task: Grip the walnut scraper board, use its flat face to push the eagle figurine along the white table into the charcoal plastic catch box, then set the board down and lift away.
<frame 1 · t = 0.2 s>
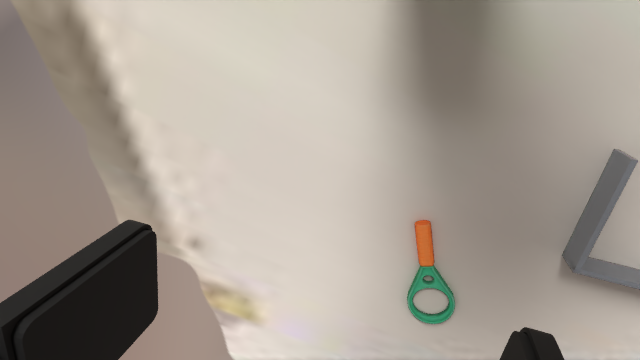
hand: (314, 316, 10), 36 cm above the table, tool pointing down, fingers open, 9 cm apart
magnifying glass: (427, 270, 50), on the table
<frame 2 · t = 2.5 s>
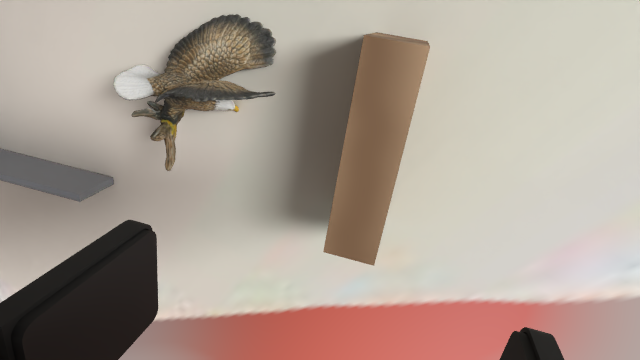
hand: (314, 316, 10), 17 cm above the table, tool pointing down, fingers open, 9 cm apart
scraper board: (380, 133, 25), on the table
catch box: (30, 60, 29), on the table
eagle figurine: (224, 80, 26), on the table
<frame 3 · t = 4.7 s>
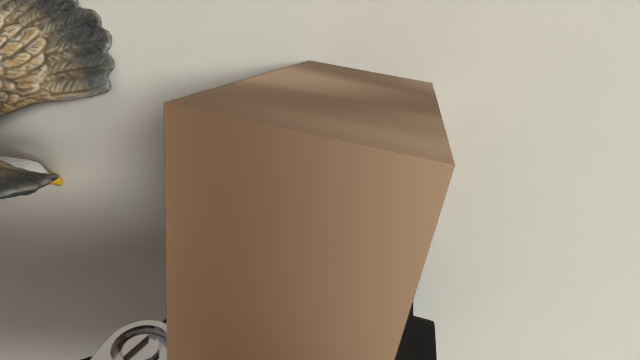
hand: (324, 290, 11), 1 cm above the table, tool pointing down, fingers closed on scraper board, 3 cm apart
scraper board: (329, 274, 12), on the table, touching gripper
eagle figurine: (29, 122, 13), on the table
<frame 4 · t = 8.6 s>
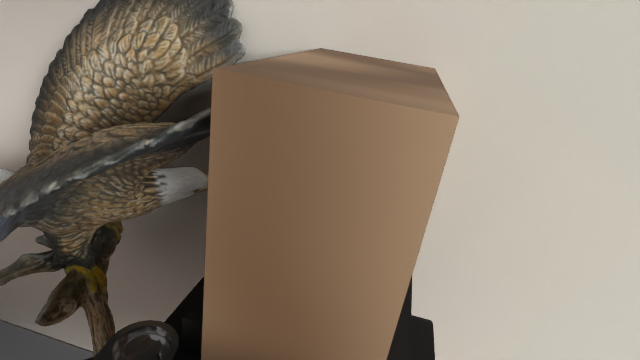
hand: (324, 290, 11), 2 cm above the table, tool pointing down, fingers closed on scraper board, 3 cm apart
scraper board: (337, 251, 12), on the table, touching gripper
catch box: (12, 170, 14), on the table
eagle figurine: (172, 137, 12), on the table
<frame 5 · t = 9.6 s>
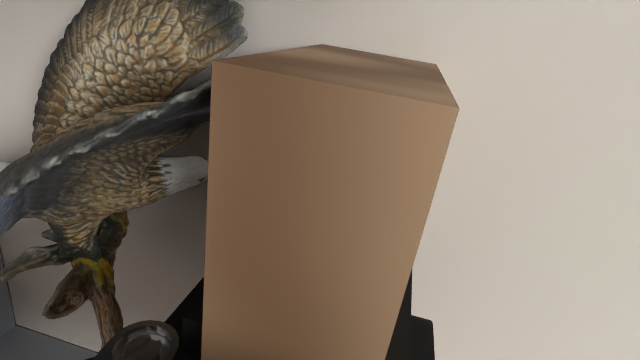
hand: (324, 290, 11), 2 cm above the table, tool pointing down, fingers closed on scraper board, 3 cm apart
scraper board: (339, 248, 12), on the table, touching gripper
catch box: (126, 200, 14), on the table
eagle figurine: (176, 127, 12), on the table, touching gripper
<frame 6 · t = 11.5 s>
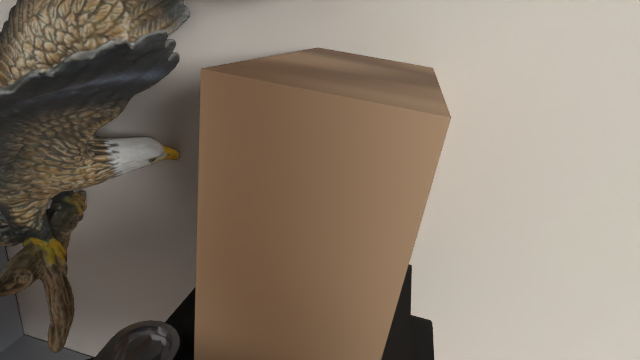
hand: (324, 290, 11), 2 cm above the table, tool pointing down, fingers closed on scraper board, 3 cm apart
scraper board: (336, 252, 12), on the table, touching gripper
catch box: (133, 208, 14), on the table
eagle figurine: (129, 110, 12), on the table
when the fingers open (1 cm above the table, at t = 13.3 s): scraper board stays where it is, on the table.
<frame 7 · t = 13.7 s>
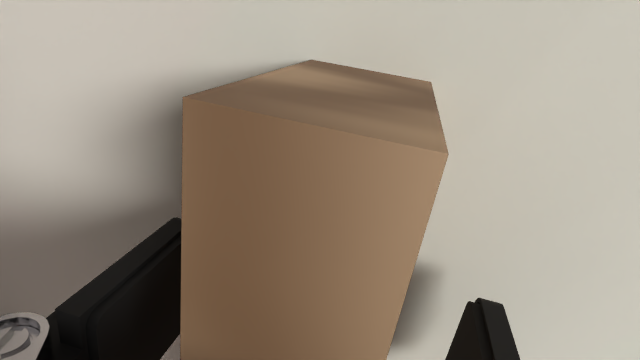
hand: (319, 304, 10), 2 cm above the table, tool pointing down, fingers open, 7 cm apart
scraper board: (331, 266, 12), on the table
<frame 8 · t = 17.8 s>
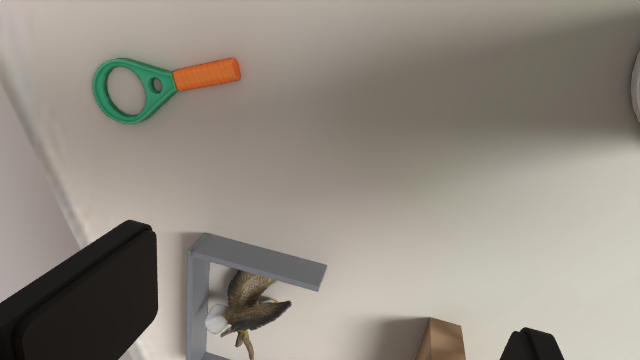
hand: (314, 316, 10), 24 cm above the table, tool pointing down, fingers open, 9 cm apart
catch box: (258, 314, 43), on the table
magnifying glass: (169, 82, 36), on the table
eagle figurine: (262, 288, 42), on the table
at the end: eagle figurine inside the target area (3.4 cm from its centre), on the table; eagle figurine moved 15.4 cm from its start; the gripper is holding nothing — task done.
